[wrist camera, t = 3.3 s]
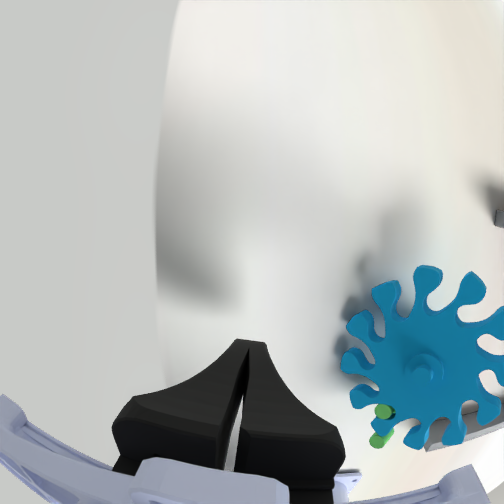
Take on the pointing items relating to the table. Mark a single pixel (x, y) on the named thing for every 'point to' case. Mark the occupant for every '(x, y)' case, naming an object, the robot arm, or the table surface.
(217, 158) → the table surface
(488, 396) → the gear
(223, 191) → the table surface
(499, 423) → the grey open frame
